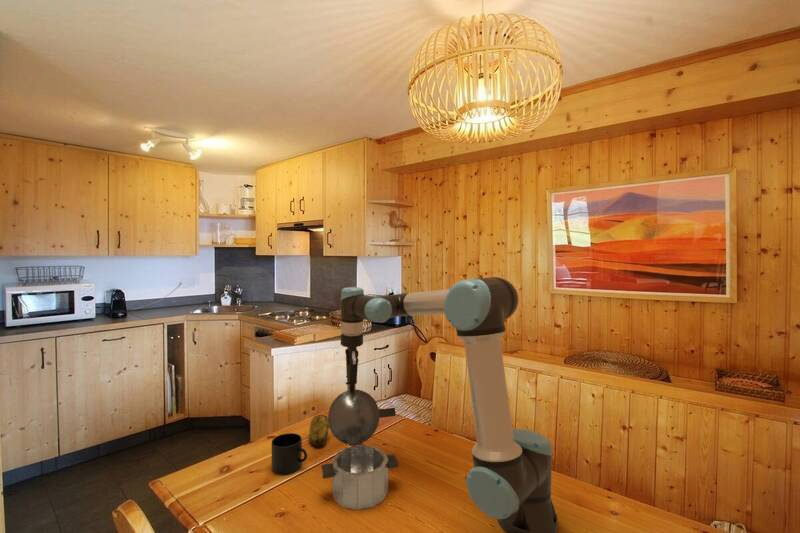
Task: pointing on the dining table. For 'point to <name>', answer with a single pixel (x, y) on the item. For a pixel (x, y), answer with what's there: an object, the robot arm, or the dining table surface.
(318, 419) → the potato
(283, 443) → the mug
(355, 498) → the pot
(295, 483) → the dining table surface
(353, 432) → the lid
